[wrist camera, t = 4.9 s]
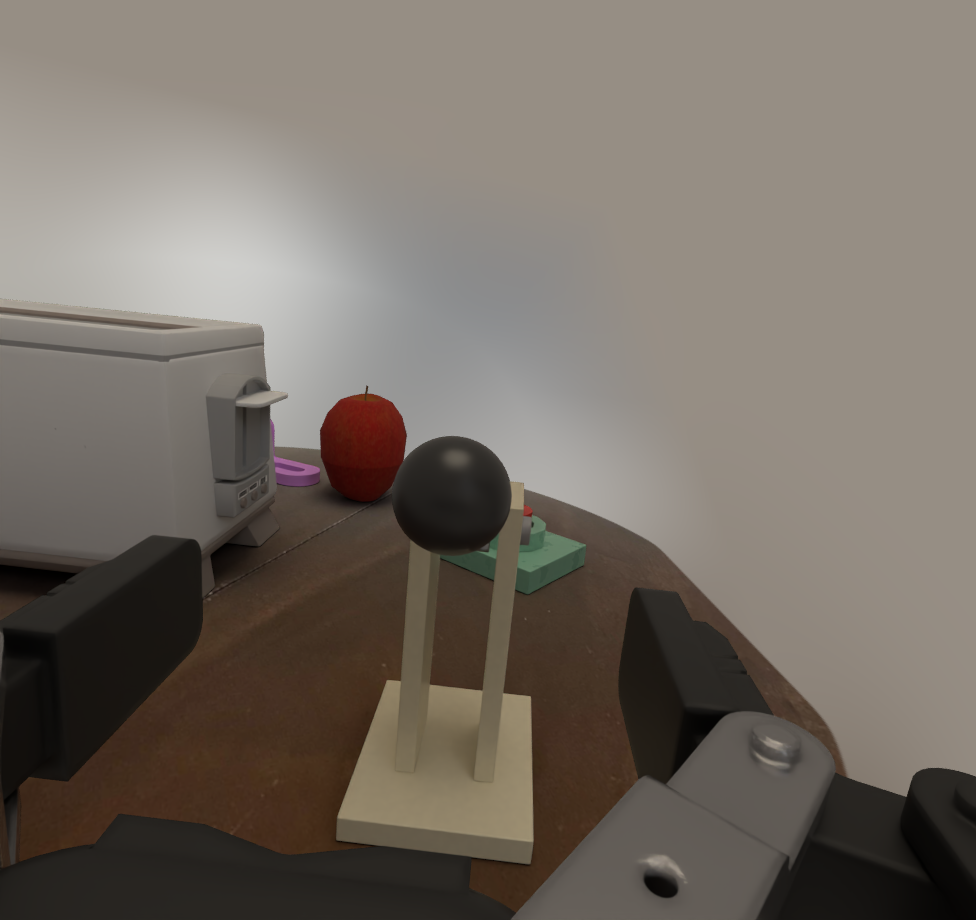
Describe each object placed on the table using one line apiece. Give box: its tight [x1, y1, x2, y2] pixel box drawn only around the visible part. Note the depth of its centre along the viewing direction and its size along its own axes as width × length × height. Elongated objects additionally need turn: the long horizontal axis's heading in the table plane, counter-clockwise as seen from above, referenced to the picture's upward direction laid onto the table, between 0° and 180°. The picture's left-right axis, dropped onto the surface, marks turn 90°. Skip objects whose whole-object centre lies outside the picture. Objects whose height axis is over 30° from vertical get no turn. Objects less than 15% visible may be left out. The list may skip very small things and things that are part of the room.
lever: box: [392, 436, 512, 556], centre depth 25 cm, size 15×4×4 cm, turn 176°
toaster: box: [0, 299, 288, 598], centre depth 54 cm, size 19×34×21 cm, turn 87°
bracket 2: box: [336, 482, 534, 864], centre depth 32 cm, size 11×9×16 cm
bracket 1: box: [270, 419, 320, 486], centre depth 83 cm, size 13×6×7 cm, turn 65°
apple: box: [320, 386, 407, 502], centre depth 76 cm, size 10×10×14 cm
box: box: [440, 515, 586, 594], centre depth 63 cm, size 12×10×4 cm
